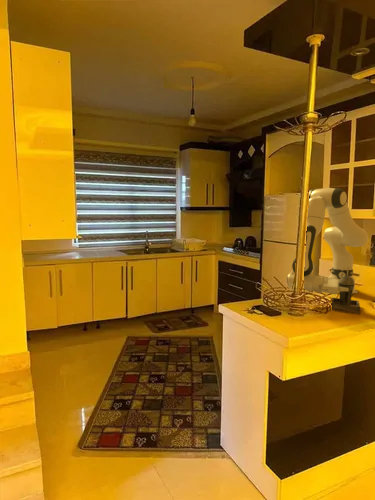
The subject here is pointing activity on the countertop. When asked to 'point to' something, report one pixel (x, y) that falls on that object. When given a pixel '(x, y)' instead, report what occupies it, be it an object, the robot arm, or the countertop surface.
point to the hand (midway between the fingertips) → (348, 287)
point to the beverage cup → (344, 295)
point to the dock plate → (346, 306)
